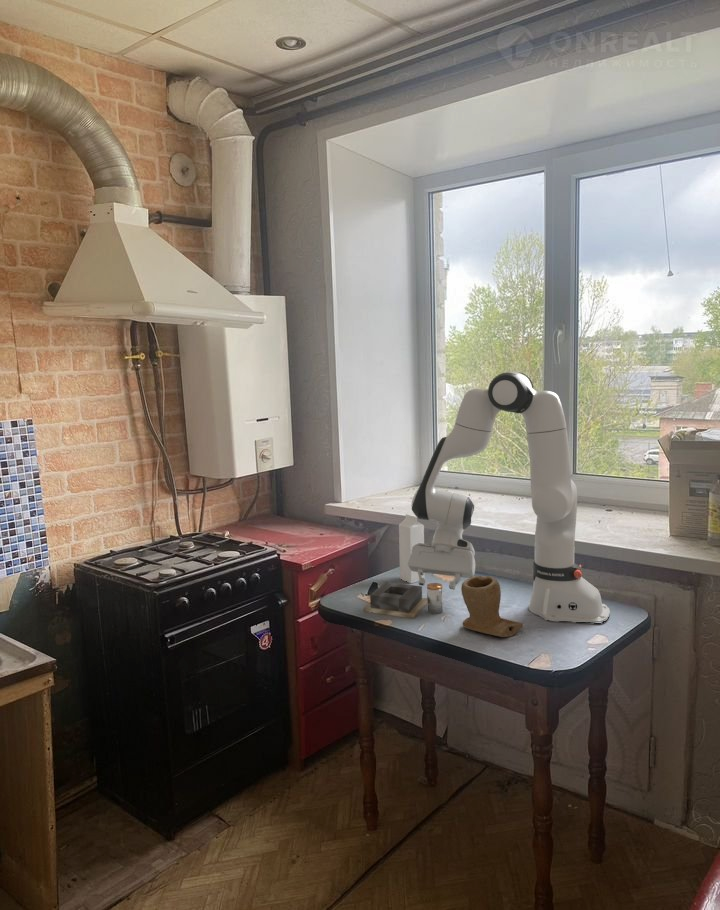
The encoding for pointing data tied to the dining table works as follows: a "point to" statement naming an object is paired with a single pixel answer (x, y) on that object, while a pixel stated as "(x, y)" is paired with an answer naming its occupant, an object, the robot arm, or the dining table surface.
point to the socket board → (397, 600)
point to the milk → (409, 546)
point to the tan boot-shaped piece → (486, 607)
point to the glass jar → (434, 598)
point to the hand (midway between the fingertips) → (436, 586)
